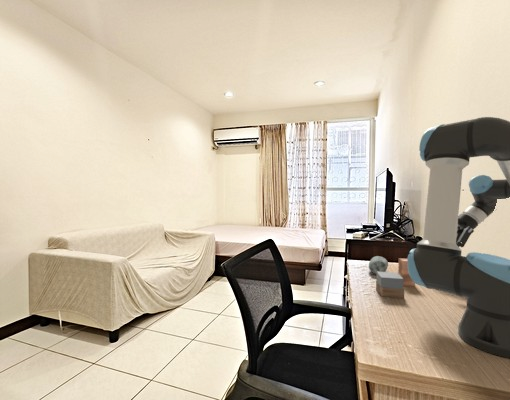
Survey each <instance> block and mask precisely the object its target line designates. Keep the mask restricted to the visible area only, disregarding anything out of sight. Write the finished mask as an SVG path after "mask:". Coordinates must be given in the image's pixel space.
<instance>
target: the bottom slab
mask: <svg viewBox="0 0 510 400" xmlns="http://www.w3.org/2000/svg"><path fill="white" fill-rule="evenodd" d="M375 284H376V285H375V290H376V292H377V293H378V295H380V296H381V297H382V298H391V299H392V298H394V299H405V288H404V287H403V289H396V288H383V287H381V286H380V285H379V284H378V282H377V280H376V281H375Z"/></svg>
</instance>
